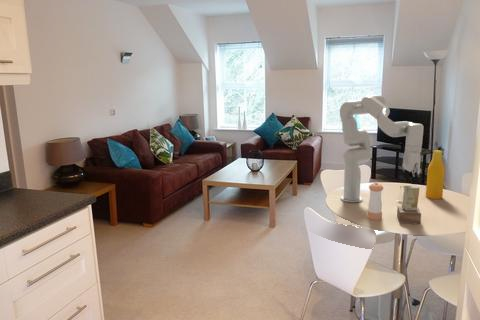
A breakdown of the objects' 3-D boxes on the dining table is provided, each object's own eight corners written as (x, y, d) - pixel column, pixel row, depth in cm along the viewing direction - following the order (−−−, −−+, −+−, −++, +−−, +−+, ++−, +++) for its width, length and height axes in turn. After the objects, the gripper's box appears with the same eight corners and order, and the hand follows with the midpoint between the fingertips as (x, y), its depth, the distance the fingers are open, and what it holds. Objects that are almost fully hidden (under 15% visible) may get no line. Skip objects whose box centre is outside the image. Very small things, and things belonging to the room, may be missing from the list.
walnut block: (396, 216, 207) (397, 205, 206) (417, 218, 204) (417, 207, 203) (399, 223, 198) (399, 212, 197) (420, 224, 195) (421, 213, 194)
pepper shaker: (372, 220, 201) (374, 185, 197) (364, 215, 208) (366, 181, 204) (384, 218, 203) (386, 183, 199) (376, 214, 210) (378, 180, 206)
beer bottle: (444, 199, 232) (448, 152, 226) (428, 199, 234) (432, 152, 228) (439, 195, 241) (443, 149, 235) (423, 194, 243) (427, 149, 237)
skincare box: (405, 210, 198) (407, 188, 195) (401, 208, 202) (403, 185, 199) (417, 210, 198) (420, 187, 196) (413, 207, 203) (415, 185, 200)
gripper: (398, 145, 202) (396, 176, 206) (413, 151, 185) (410, 186, 189) (413, 144, 202) (410, 176, 206) (429, 151, 185) (425, 186, 189)
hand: (410, 181), depth 197 cm, fingers open, 9 cm apart
